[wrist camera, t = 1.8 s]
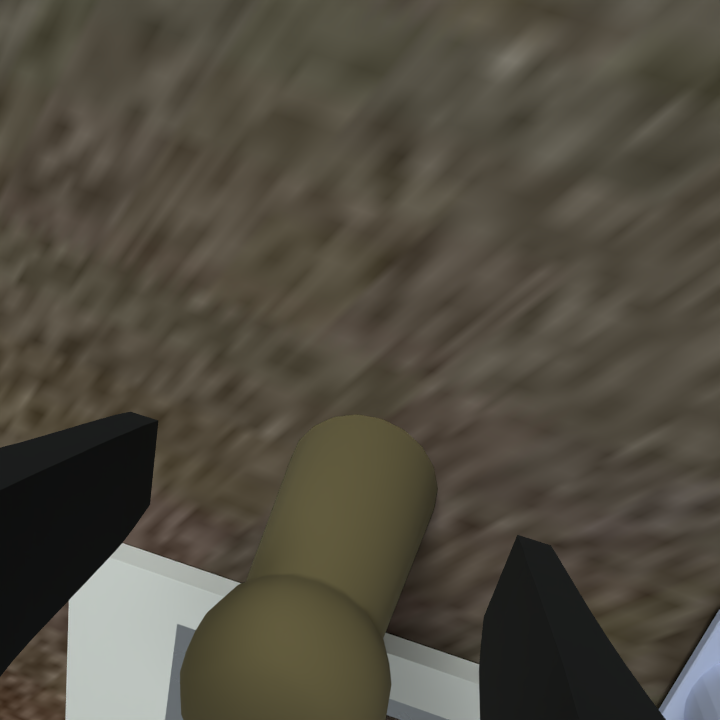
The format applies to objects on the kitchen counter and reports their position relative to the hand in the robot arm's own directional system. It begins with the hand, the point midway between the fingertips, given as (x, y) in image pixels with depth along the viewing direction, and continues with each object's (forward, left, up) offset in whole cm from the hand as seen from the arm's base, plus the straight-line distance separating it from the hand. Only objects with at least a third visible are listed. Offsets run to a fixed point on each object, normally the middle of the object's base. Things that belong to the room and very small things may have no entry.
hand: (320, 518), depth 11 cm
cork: (0, +6, -11) cm, 12 cm away
